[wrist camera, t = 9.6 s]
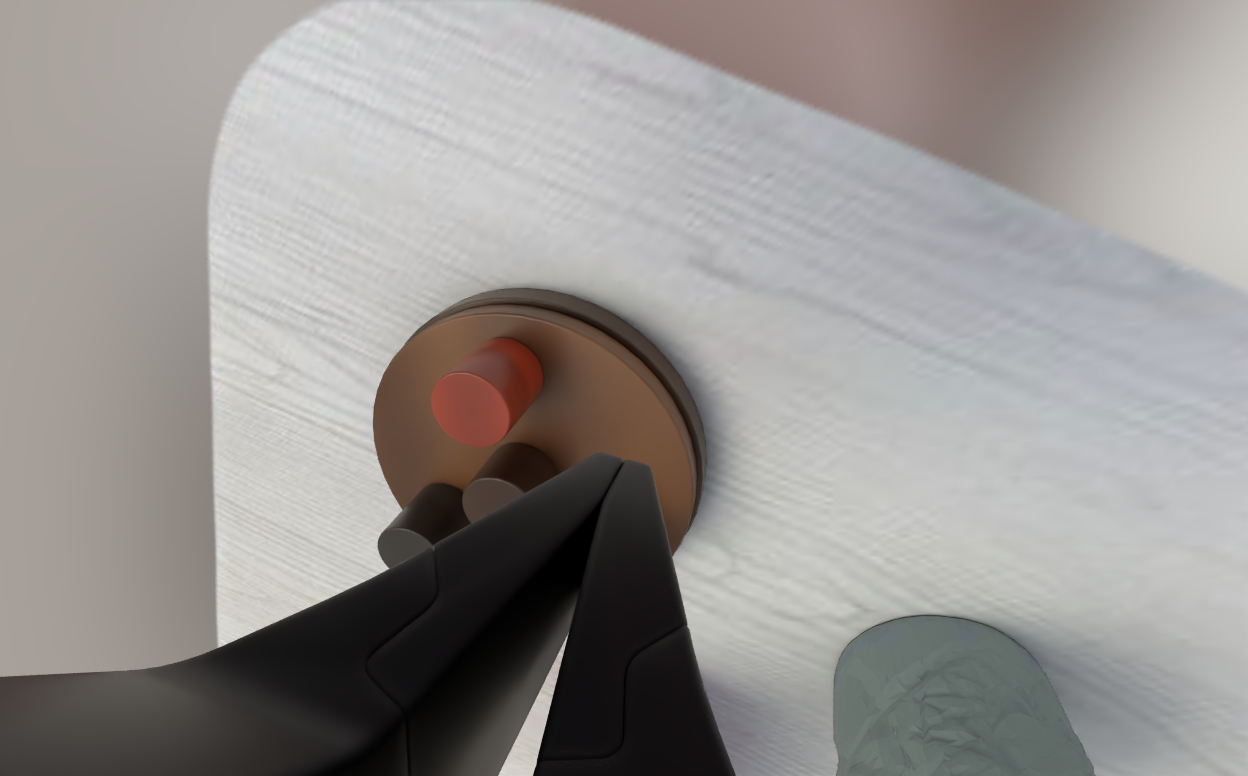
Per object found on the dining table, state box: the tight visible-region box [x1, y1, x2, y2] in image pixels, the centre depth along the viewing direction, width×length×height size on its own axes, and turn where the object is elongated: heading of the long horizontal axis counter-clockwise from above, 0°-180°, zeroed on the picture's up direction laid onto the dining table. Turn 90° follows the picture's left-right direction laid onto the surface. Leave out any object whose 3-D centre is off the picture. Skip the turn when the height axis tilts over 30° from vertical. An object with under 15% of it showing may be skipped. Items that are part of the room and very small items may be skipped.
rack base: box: [405, 288, 707, 535], centre depth 25 cm, size 14×14×1 cm
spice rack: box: [373, 304, 697, 569], centre depth 23 cm, size 14×14×4 cm
